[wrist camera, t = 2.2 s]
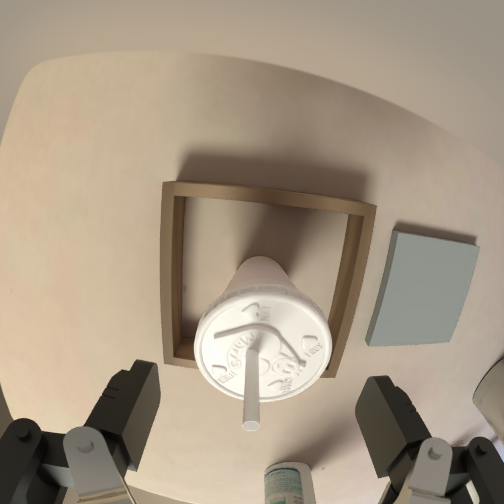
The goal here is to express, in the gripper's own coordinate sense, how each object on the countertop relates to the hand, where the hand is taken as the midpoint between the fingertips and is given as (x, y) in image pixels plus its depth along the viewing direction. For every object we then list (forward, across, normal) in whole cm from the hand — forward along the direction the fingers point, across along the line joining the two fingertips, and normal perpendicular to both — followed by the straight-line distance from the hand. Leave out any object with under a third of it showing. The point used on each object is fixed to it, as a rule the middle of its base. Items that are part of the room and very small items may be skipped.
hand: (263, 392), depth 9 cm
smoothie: (+12, 0, 0) cm, 13 cm away
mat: (+12, -15, 0) cm, 19 cm away
